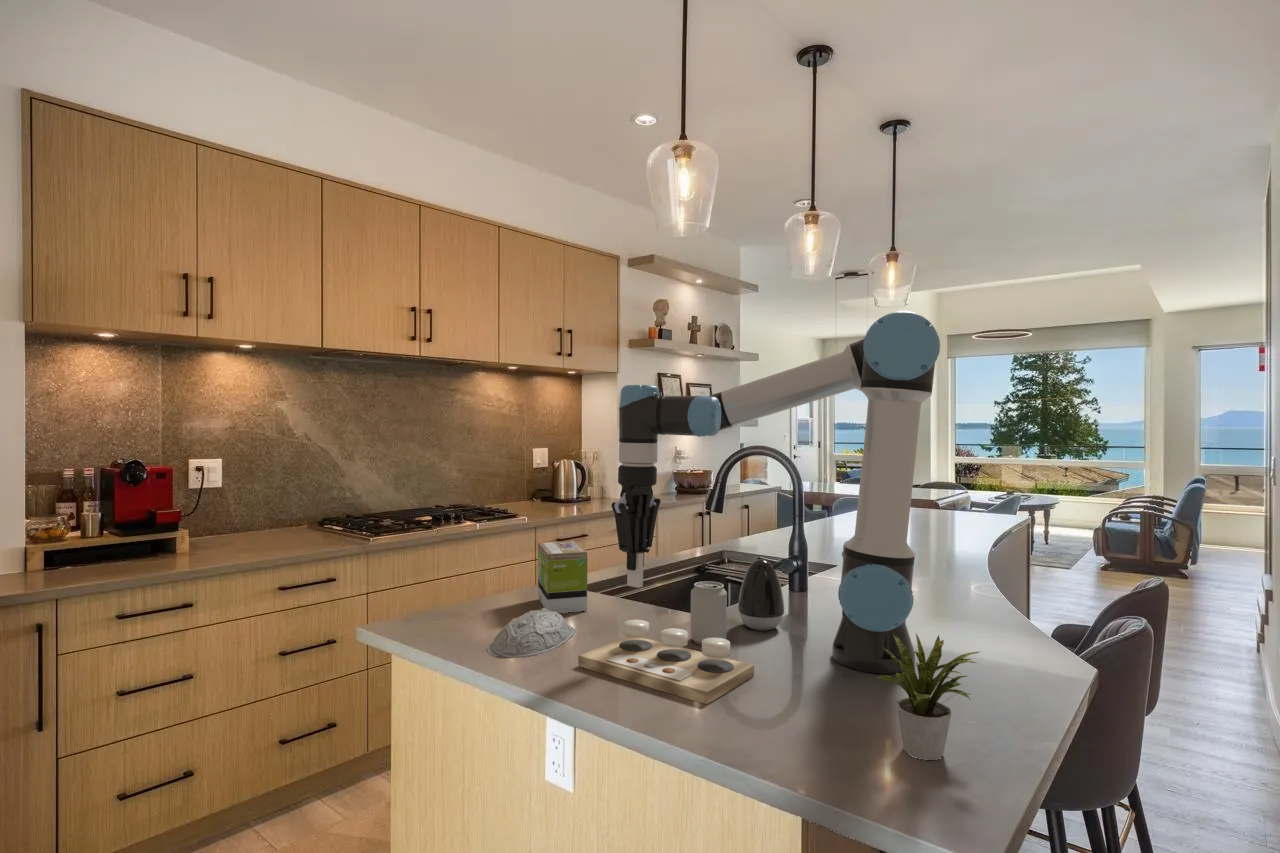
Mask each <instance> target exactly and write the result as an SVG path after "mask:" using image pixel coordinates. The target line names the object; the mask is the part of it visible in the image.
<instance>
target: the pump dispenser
mask: <svg viewBox="0 0 1280 853" xmlns="http://www.w3.org/2000/svg"><path fill="white" fill-rule="evenodd" d="M780 567H783V562H782V561H778V562H776V563H773V564H772V563H771V562H770V561H768V560H766V559H763V558H759V559H755V560H754V561H752V562H751V564H750V565H749V567H748V568H747V570H746V572H745V574H744V576H743V580H742V583H741V587H740V591H739V597H738V602H737V611H738V613H739V615H740V619H741V621H742V623H743V624H744V625H745V626H746V627H747V628H750V629H751V630H755V631H762V632H763V631H764V632H765V631H772V630H773V629H775V628H776V627H778V626H779V625H780V623H781V621H782V618H783V616H784V614H785V600H784V595H783V588H782V586H781V582H780V579H779V576H778V574H777V570H778V569H779V568H780Z"/></svg>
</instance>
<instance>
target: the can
mask: <svg viewBox="0 0 1280 853" xmlns="http://www.w3.org/2000/svg"><path fill="white" fill-rule="evenodd" d="M693 586H694V587H693V588H692V589H691V590H690V636H689V637H690V638H691V639H692V640H693V641H694V642H695V644H697V645H700V646H702V640H704V639H706V638H723V639H726V640H727V617H728V616H727V612H728V611H727V610H728V609H727V607H728V603H727V602H728V600H727V599H728V597H727V596H728V592H727V590H726V589H725V588H724V587H725V585H724V584H723V583H721V582H717V581H709V580H708V581H707V580H706V581H698V582H694V584H693Z"/></svg>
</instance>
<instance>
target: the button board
mask: <svg viewBox="0 0 1280 853" xmlns="http://www.w3.org/2000/svg"><path fill="white" fill-rule="evenodd" d="M577 656H578V662H577V665H578V667H580V666H581V668H583V667H584V669H586V670H590V671H594V672H597V673H601V674H604V675H607V676H609V677H610V676H611V677H612V678H613V677H614V678H617V679H620V680H624V681H628V682H629V683H634V684H638V685H641V686H644V687H647V688H650V689H654V690H657V691H661V692H664V693H668V694H671V695H675V696H677V697H680V698H683V699H684V698H685V699H687V700H691V701H694V702H697V703H700V704H704V705H709V704H710V703H712V702H713V701H716V700H717V699H719V698H721V697H722V696H723V695H725V694H727V693H728V692H730V691H731V690H733V689H735V688H736V687H738V686H741V684H743V683H745V682H747V681H748V680H750V679H751V678H754V677H755V665H754V664H752V663H747V662H742V661H739V660H735V659H732V658H727V657H723V658H712V657H707V656H705V655H703V654H702V651H697V650H695V649H692V648H691V649H689V648H686V647H684V646H683V647H667V646H664V645H662V644H661V641H658V640H653V639H650V638H646V637H640V638H632V637H627V636H625V637H623V638H619V639H617V640H615V641H613V642H609V643H607V644H603V645H602V646H599V647H596V648H594V649H592V650H589V651H586V652H584V653H581V654H578V655H577Z"/></svg>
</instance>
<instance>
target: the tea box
mask: <svg viewBox="0 0 1280 853" xmlns="http://www.w3.org/2000/svg"><path fill="white" fill-rule="evenodd" d="M537 595H538V597H537V598H538V600H539V602H540V604H541V605H542V607H543V608H546V609H547V610H549V611H555V612H557V613H562V614H569V613H568V612H574V613H583V612H582V611H584V612H587V611H588V552H587V551H586V550H585V549H584V548H583V547H582V546H580V544H578V543H577V542H576V541H575V540H569V541H550V542H538V543H537Z"/></svg>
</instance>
